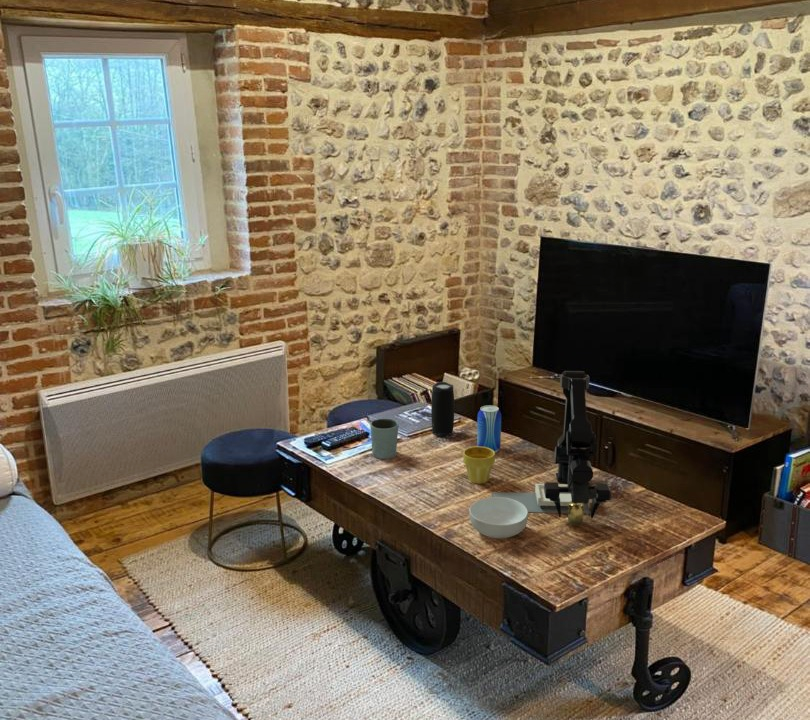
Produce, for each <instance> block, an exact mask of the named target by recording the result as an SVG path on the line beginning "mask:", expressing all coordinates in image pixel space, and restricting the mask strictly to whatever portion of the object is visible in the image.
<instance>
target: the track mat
mask: <svg viewBox="0 0 810 720" xmlns="http://www.w3.org/2000/svg"><path fill="white" fill-rule="evenodd" d="M491 497H504V498H510V499H513V500H516V501H518V502H520V503H522V504H523V505H524V506H525V507H526V508H527V510H528V513H535V514H536V513H537V514H538V513H539V514H540V513H541V514H558V511H557V508H556V506H547V505H545V508H544V509H541V508H540V505H538V503H537V498H536V492H508V491H507V492H504V491H501V492H498V491H492V492H491ZM560 507H561V514H568V509H569V506H560ZM584 515H591V512H589V509H588V506H587V504H584Z"/></svg>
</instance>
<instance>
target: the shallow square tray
mask: <svg viewBox="0 0 810 720" xmlns="http://www.w3.org/2000/svg"><path fill="white" fill-rule="evenodd" d="M544 484H545V483H535V485H534V487H535V488H534V491H535V492H534V493H536V498H537V503H538V505H540V508H541V509H544V508H545V505H547V506H556V505H555V503H554V501H550V499H547V498H545V493H544ZM567 485H568V484H565V483H564V484H563V483H562V484H561V483H558V486H559V487H567ZM559 497H560V506H569V502H570V501H572V498H571V494H560V495H559Z"/></svg>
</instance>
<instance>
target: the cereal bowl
mask: <svg viewBox="0 0 810 720" xmlns="http://www.w3.org/2000/svg"><path fill="white" fill-rule="evenodd" d="M468 513H469V514H468V515H469V521H470V523H471V525H472V527H473V528H474V529H475V530H476V531H477V532H478V533H479V534H481V535H484V536H486V537H489V538H493V539H507V538H510V537H514V536H516V535H518V534H520V533H521V532H522V531H523V530H524V529H525V528H526V526H527V524H528V523H527V522H528V517H529V512H528V510H527V508H526V507H525V506H524V505H523V504H522V503H520V502H518V501H516V500H513V499H510V498H504V497H492V496H490V497H484V498H480V499H478V500H476V501H473V502H472V504H470V506H469V510H468Z"/></svg>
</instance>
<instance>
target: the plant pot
mask: <svg viewBox="0 0 810 720" xmlns="http://www.w3.org/2000/svg"><path fill="white" fill-rule="evenodd" d="M462 454H463V455H462V457H463V459H462V460H463V463H464V465H465V467H466V468H465V469H466V473H467V478H468V481H470V482H471V483H473V484H478V485H479V484H480V485H481V484H485V483H488V482H489V480H490V476H491V472H492V468H493V465H494V464H495V462H496V461H495V460H496V453H495V452H494V451H493V450H492V449H490V448H487V447H481V446H477V445H475V446H470V447H467V448H465V449H464V450H463V453H462Z"/></svg>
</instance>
